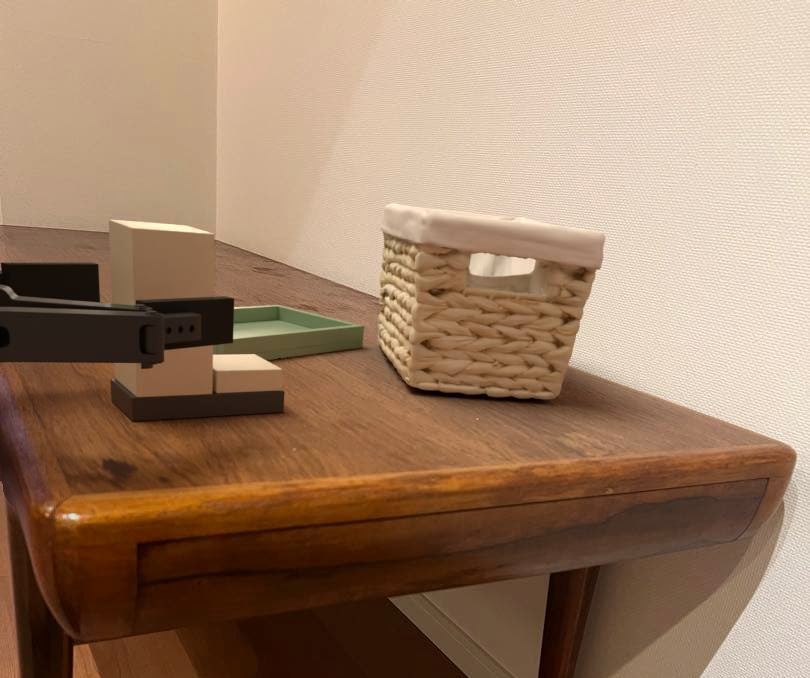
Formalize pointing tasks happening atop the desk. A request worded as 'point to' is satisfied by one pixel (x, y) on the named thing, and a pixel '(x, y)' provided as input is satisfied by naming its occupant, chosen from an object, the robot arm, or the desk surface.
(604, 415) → the desk surface
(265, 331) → the tray
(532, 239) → the basket
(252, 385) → the boot
